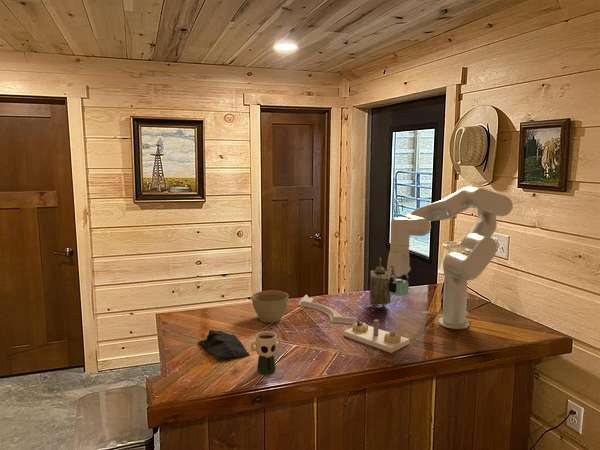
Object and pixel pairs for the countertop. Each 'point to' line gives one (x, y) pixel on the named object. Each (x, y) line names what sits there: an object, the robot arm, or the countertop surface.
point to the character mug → (266, 351)
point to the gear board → (376, 336)
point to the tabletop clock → (379, 287)
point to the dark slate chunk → (223, 345)
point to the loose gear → (401, 288)
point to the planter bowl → (270, 305)
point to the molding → (327, 311)
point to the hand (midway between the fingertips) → (398, 289)
